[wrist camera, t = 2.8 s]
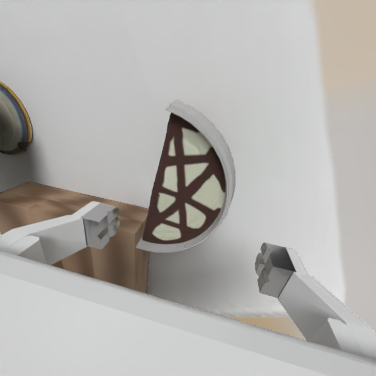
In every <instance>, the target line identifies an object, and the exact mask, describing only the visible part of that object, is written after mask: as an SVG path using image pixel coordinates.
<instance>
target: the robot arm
mask: <svg viewBox="0 0 376 376" xmlns="http://www.w3.org/2000/svg"><path fill="white" fill-rule="evenodd" d="M118 215H119V208H118V207H115V206H111V205H108V204H104V203H100V202H96V201H91V202H90V203H89V204H87V205H86V206H84V207H83V208H81V209H80V210H78V211H77V212H75V213H74V214H72V215H66V216H62V217H58V218H54V219H50V220H46V221H42V222H38V223H34V224H30V225H26V226H22V227H18V228H15V229H12V230H10V231H8V232H6V233H4V234H3V235H1V236H0V376H376V334H375V332H374V331H373V329H372V328H371V327H369V326H368V325H367V324H366V323H365V322H364V321H363V320H361V319H360V318H359V317H358V316H357V315H356V314H355V313H354V312H352V311H351V310H350V309H349V308H348V307H347V306H346V305H344V304H343V303H342V302H341V301H340V300H339V299H338V298H336V297H335V296H334V295H333V294H332V293H331V292H330V291H328V290H327V289H326V288H325V287H324V286H323V285H322V284H320V283H319V282H318V281H317V280H316V279H315V278H314V277H311V276H309V274H308V272H307V270H306V268H305V266H304V264H303V263H302V261H301V259H300V257H299V255H298V253H297V251H296V250H295V249H292V248H287V247H281V246H277V245H273V244H268V243H263V244H262V246H261V253H259V254H258V255H257V258H256V262H255V270H256V273H257V275H258V276H259V278H258V280H257V281H258V286H259V291H260V293H263V294H266V295H269V296H273V297H276V298H278V300H279V301H280V303H281V304H282V306H283V307H284V309H285V310H286V311H287V313H288V314H289V316H290V317H291V319H292V320H293V321H294V323H295V324H296V326H297V327H298V328H299V330H300V331H301V333H302V334H303V335H304V337H305V338H306V340H307V341H306V340H303V339H299V338H296V337H293V336H289V335H286V334H282V333H279V332H275V331H272V330H269V329H265V328H262V327H258V326H255V325H252V324H248V323H245V322H241V321H238V320H235V319H231V318H228V317H225V316H221V315H218V314H214V313H211V312H208V311H204V310H201V309H197V308H194V307H191V306H187V305H184V304H180V303H177V302H174V301H170V300H167V299H163V298H160V297H157V296H153V295H150V294H146V293H143V292H140V291H136V290H133V289H129V288H126V287H123V286H119V285H116V284H112V283H109V282H106V281H102V280H99V279H95V278H92V277H89V276H85V275H82V274H78V273H75V272H72V271H68V270H65V269H61V268H58V267H55V266H51V265H52V264H54V263H56V262H58V261H60V260H62V259H64V258H66V257H68V256H70V255H72V254H74V253H76V252H77V251H79V250H81V249H83V248H85V247H87V246H89V247H93V248H97V249H102V248H103V247H104V246H105V245H106V244H107V243H108V242H109V237H112V236H114V235H115V234H116V232H117V231H118V229H119V225H120V220H119V218H118V217H117V216H118Z"/></svg>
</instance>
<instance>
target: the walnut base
mask: <svg viewBox="0 0 376 376" xmlns="http://www.w3.org/2000/svg"><path fill="white" fill-rule="evenodd" d="M91 201H96V202H100V203H104V204H108V205H111V206H115V207H118V208H119V215H118V216H117V217H118V218H119V220H120V225H119V229H118V231H117V232H116V234H115V235H114V236H112V237H109V242H108V243H107V244H106V245H105V246H104V247H103V248H102V249H97V248H93V247H89V246H87V247H85V248H83V249H81V250H79V251H77V252H76V253H74V254H72V255H70V256H68V257H66V258H64V259H62V260H60V261H58V262H56V263H54V264H52V265H51V266H55V267H58V268H61V269H65V270H68V271H72V272H75V273H78V274H82V275H85V276H89V277H92V278H95V279H99V280H102V281H106V282H109V283H112V284H116V285H119V286H123V287H126V288H129V289H133V290H136V291H140V292H143V293H146V294H147V279H148V263H149V251H145V250H142V249H138V248H136V246H137V244H138V243H139V241H140V239H141V237H142V236H143V233H144V228H145V224H146V219H147V215H148V210H149V209H147V208H143V207H139V206H134V205H130V204H125V203H121V202H117V201H112V200H108V199H103V198H99V197H94V196H90V195H86V194H81V193H77V192H72V191H68V190H64V189H59V188H55V187H50V186H46V185H42V184H37V183H33V182H27V183H25V184H22V185H19V186H17V187H14V188H11V189H9V190H6V191H4V192H1V193H0V232H1V234H2V235H3V234H4V233H6V232H8V231H10V230H12V229H15V228H18V227H22V226H26V225H30V224H34V223H38V222H42V221H46V220H50V219H54V218H58V217H62V216H66V215H72V214H74V213H75V212H77V211H78V210H80V209H81V208H83V207H84V206H86V205H87V204H89V203H90V202H91Z"/></svg>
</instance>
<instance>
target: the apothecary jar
mask: <svg viewBox="0 0 376 376" xmlns="http://www.w3.org/2000/svg"><path fill="white" fill-rule="evenodd" d="M31 140H32V126H31V122H30V119H29V116H28V114H27V112H26V110H25V108H24V106H23V104H22V103H21V101H20V100H19V98H18V97H17V96H16V95H15V94H14V93H13V92H12V90H11V89H9V88H8V87H7V86H6V85H5V84H3V83H2V82H0V152H1V153H4V154H8V155H17V154H21V153H23V152H25V151H26V144H27V143H28V142H31Z"/></svg>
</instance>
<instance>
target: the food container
mask: <svg viewBox="0 0 376 376" xmlns="http://www.w3.org/2000/svg"><path fill="white" fill-rule="evenodd" d="M165 110H167V111H170V112H172V113H171V115H170V119H169V122H168V126H167V133H166V138H165V142H164V146H163V151H162V155H161V159H160V163H159V167H158V171H157V174H156V178H155V182H154V186H153V189H152V195H151V200H150V205H149V210H148V215H147V219H146V224H145V228H144V233H143V236H142V237H141V239H140V241H139V243H138V244H137V246H136V248H138V249H142V250H145V251H151V252H159V253H170V252H178V251H182V250H186V249H189V248H191V247H194V246H196V245H198V244H199V243H201V242H203V241H204V240H205V239H206V238H208V237H209V236H210V235H211V234H212V233H213V232H214V231H215V230H216V229H217V228H218V227H219V225H220V224H221V223H222V221H223V219H224V218H225V216H226V214H227V211H228V209H229V206H230V204H231V201H232V198H233V195H234V189H235V167H234V162H233V158H232V155H231V152H230V149H229V147H228V145H227V143H226V141H225V140H224V138H223V136H222V134H221V133H220V132H219V130H218V129H217V128H216V127H215V125H214V124H213V123H212V122H211V121H210V120H209V119H208V118H206V117H205V116H204V115H203V114H202V113H201V112H199V111H198V110H196V109H194V108H193V107H191V106H190V105H188V104H186V103H183V102H181V101H179V100H175V101H173V102H172V103H170V105H169V108H166V109H165Z"/></svg>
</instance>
